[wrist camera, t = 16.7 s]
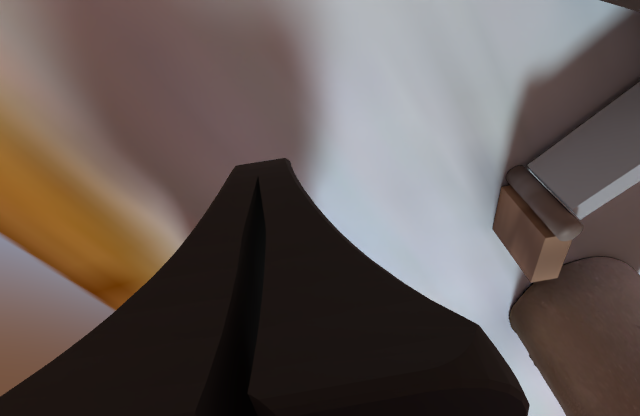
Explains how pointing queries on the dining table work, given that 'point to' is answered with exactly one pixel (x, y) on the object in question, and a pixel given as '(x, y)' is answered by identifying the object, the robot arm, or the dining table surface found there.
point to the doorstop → (626, 4)
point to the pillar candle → (586, 336)
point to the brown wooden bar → (534, 226)
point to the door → (595, 157)
